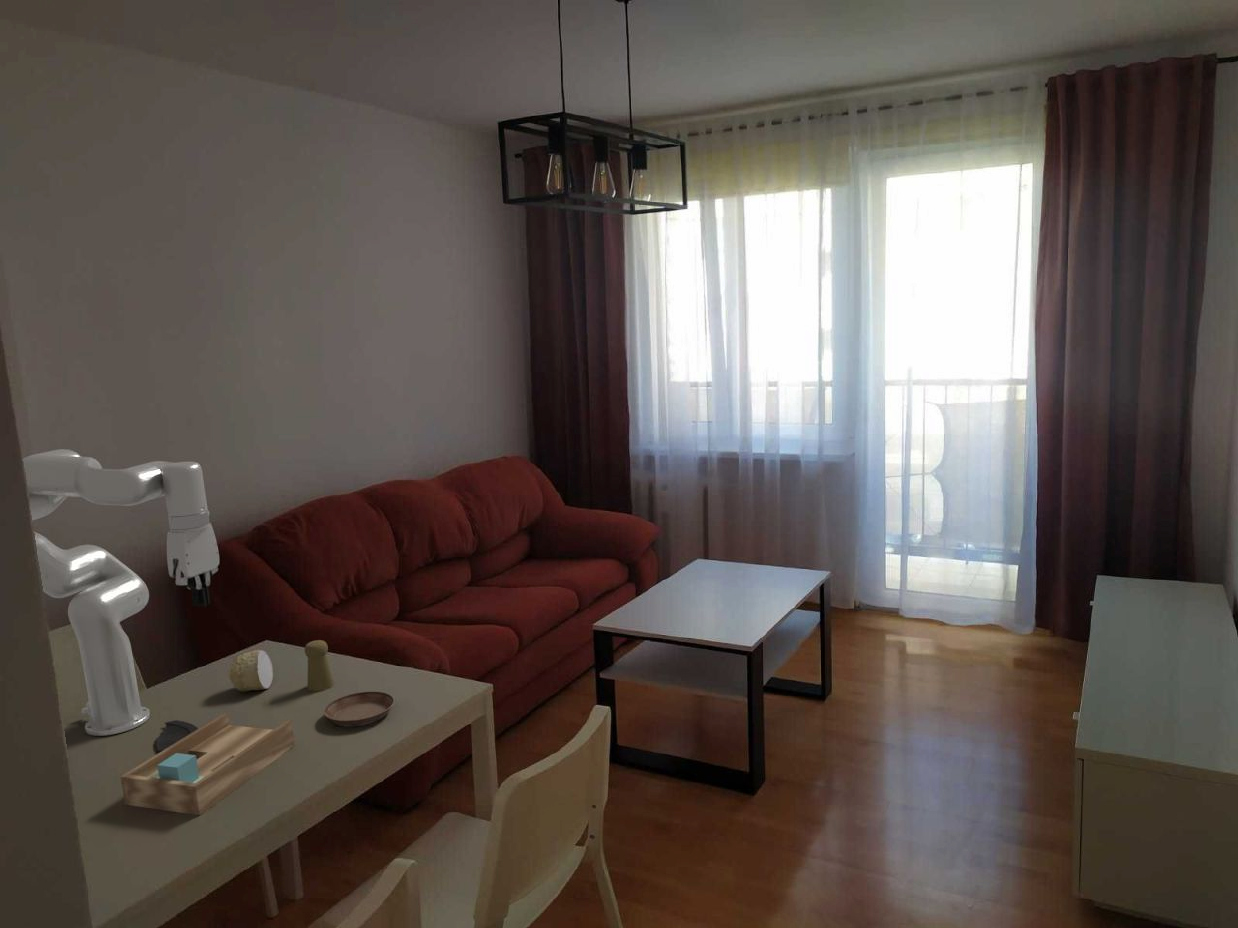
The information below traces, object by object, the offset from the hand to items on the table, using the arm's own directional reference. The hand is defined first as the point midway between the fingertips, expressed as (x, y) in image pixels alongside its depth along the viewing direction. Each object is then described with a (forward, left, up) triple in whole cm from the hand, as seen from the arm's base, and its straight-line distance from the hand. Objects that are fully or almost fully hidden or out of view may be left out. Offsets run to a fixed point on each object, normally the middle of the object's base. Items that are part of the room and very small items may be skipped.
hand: (201, 605), depth 190 cm
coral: (-6, +18, -27) cm, 33 cm away
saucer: (+29, +10, -28) cm, 41 cm away
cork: (+10, +22, -27) cm, 36 cm away
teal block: (+16, -27, -24) cm, 39 cm away
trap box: (+15, -18, -27) cm, 36 cm away
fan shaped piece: (-4, -7, -28) cm, 29 cm away
